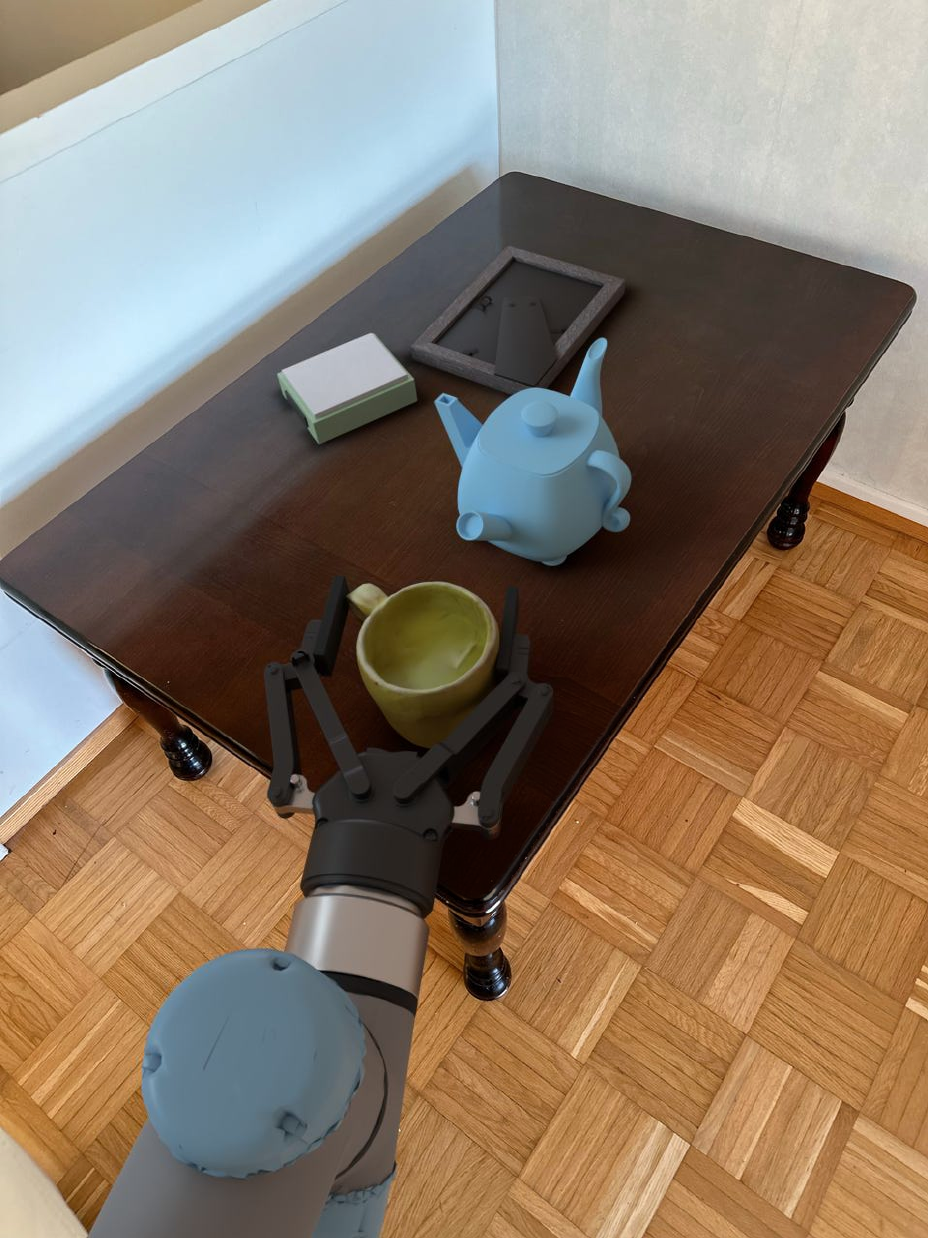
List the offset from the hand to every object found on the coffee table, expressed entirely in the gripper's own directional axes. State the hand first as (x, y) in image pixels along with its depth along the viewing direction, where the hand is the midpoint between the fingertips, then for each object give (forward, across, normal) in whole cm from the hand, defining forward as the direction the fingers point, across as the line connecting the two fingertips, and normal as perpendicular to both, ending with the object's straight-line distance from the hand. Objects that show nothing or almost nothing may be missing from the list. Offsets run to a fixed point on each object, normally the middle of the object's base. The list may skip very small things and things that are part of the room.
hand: (427, 592), depth 62 cm
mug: (-4, 0, -6) cm, 7 cm away
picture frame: (+37, +3, -6) cm, 38 cm away
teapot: (+13, +6, -6) cm, 16 cm away
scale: (+26, -12, -6) cm, 29 cm away
